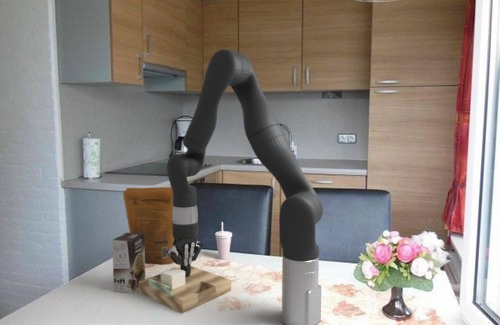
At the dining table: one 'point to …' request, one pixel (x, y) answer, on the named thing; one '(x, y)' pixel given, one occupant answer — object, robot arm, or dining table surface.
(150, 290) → the trap deck
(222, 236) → the smoothie
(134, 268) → the coffee box
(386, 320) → the dining table surface
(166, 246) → the pancake mix bag
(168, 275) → the block
